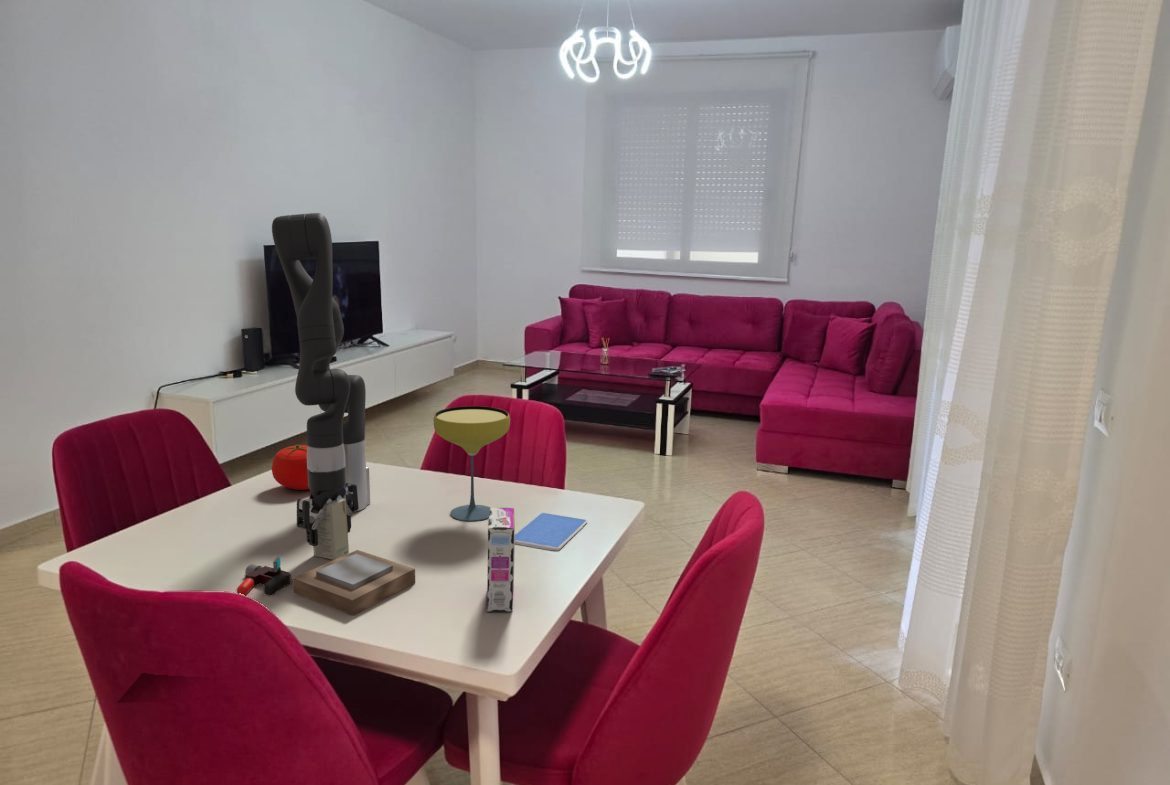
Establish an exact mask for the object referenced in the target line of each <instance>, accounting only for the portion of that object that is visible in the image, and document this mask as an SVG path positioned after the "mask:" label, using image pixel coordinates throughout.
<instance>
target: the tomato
mask: <svg viewBox="0 0 1170 785" xmlns="http://www.w3.org/2000/svg"><path fill="white" fill-rule="evenodd" d="M307 448H308V445H304V444H302V445H301V444H295V445H291V446H287V447H284V448H281V449H280V450H279V451H277V453H276V454H275V455H274V456H273V459H272V464H271V474H272V478H273V479H274V480H275V481H276V482H277V483H278V484H280V486H283V487H285V488H287V489H291V490H296V491H306V490H307V491H308V490H310V489H309V487H308V471H307Z"/></svg>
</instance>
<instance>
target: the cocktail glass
mask: <svg viewBox="0 0 1170 785" xmlns="http://www.w3.org/2000/svg"><path fill="white" fill-rule="evenodd" d="M510 426H511V416H510V414H509V412H508V411H507V410H504V409H502V408H497V407H491V406H484V405H483V406H481V405H466V406H465V405H464V406H455V407H448V408H443V409H441V410H439V411H436V412H435V413H434V416H433V429H434V431H435V433H436V434H437V435H438V436H439V437H441V438H442V439H443V440H445V441H447V442H450V443H451V444H454V445H456V446H459V447H461V448H462V449H463V450H464V451H465V453H466V454H467V455H469V456H470V500H469V504H464V505H459V506H457V507H454V508H452V509H451V511H450V512H449V515H450V516H451V518H453V519H455V520H456V521H462V522H481V521H485V520H489V513H490V508H491V506H488V505H482V504H476V500H475V488H474V487H475V486H474V485H475V483H474V482H475V481H474V471H475V470H474V456H476V455H477V454H478V453H479V452H480V450H481V449H482V448H483V447H485V446H486V445H489V444H492V443H493V442H495V441H497V440H499V439H501V438H503V436H505V435H506V434H507V433H508V432H509V429H510Z"/></svg>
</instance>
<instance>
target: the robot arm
mask: <svg viewBox="0 0 1170 785" xmlns="http://www.w3.org/2000/svg"><path fill="white" fill-rule="evenodd" d="M271 234H272V240H273V244H274V247H275V250H276V253H277V256H278V259H279V261H280V264H281V267H282V269H283V273H284V276H285V279H286V282H287V284H288V286H289V290H290V294H291V298H292V302H293V306H294V311H295V314H296V319H297V321H296V322H297V334H298V342H299V362H298V364H299V365H298V370H297V376H296V381H295V388H294V393H295V396H296V398H297V400H298V401H299V403H300V404H302V405H304V406H308V407H309V406H318V407H319V408H320V410H321V411H323V412H321V413H319V414H314V415H312V416H310V417H309V418H308V419H307V421H306V439H307V440H306V441H307V446H308V448H307V471H308V487H309V489H308V490H309V491H310V494H309V497H308V498H305V499H301V498H298V499H297V500H296V527H297V528H300V529H303V530H306V531H305V533H306V536H305V537H306V543H307V544H308V545H309V546H312V547H313V546H317V545H318V529H316V528H317V526H318V524H319V521H320V520H322V519H323V517H324V515H325V513H326V511H327V506H328V504H330V503H332V501H333V500H336V501H338V500H342V499H345V500H346V514H347V529H348V534H349V533H350V532H351V529H352V515H353V513H354V512H358V511H359V512H360V511H361V510H364V509H365V508H367V506H368V505H370V504H371V485H370V484H371V483H370V482H371V481H370V479H371V478H370V467H369V466H367V461H366V460H367V456H366V455H367V454H366V400H367V399H366V384H365V380H364V379H363V377H362V376H361V375H358V374H348V373H346V371H344V370H343V369H341V368H332V369H331V368H330V367H331V366H330V365H331V364H330V363H331V361H332V359H333V357H334V356H335V355H336V354H337V349H339V346H340V344H341V342H342V340H343V338H344V333H345V327H344V322H343V319H342V314H341V310H340V306H339V304H338V302H337V300H335V299H334V297H333V286H334V285H333V281H334V280H333V276H334V274H333V269H334V268H333V243H332V242H333V240H332V232H331V228H330V224H329V221H328V219H327V218H326V216H325V215H324V214H323V213H320V212H313V213H312V212H311V213H310V212H309V213H299V214H298V213H297V214H288V215H281V216H277V217H275V218H274V219H273V220H272V224H271ZM315 259H316V263H315V264H316V267H315V274H314V277H313V278H312V277H311V276H310V275H309V274H308V272H307V271H306V269H305V268H304V267H303V265H302V263H301V261H305V260H315ZM345 414H347V419H346V420H345V421H344V419H345V418H344V416H345ZM315 511H317V512H319V513H318V514H315ZM313 519H314V520H313ZM312 521H313V522H312Z"/></svg>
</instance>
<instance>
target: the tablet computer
mask: <svg viewBox="0 0 1170 785" xmlns="http://www.w3.org/2000/svg"><path fill="white" fill-rule="evenodd" d="M587 522H588V523H589V521H588V520H587V519H585V518H584V519H583V518H579V517H578V518H577V517H572V516H566V515H560V514H559V515H558V514H552V513H547V512H540V513H539V514H538V515H536V517H534V518H533V519H532V520H531V521H529V522H528V523H527V524H526V525H525V526H523V527H522V528H521V529H519V530H518V531H517V532H516V533H515V545H519V546H525V547H529V548H537V549H542V550H548V551H557V552H558V551H560V550H561V549H562V548H563V547H564V546H565V545H566V544H567V543H568V542H569V541H570V540H571V539H572V538H573V537H574V536H575V535H577V534H578V533H579V532H580V531H581V530H582V529H583V528H584V527H585V526H586V525H587V524H588V523H587ZM586 523H587V524H586ZM585 524H586V525H585ZM584 525H585V526H584ZM583 526H584V527H583Z"/></svg>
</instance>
